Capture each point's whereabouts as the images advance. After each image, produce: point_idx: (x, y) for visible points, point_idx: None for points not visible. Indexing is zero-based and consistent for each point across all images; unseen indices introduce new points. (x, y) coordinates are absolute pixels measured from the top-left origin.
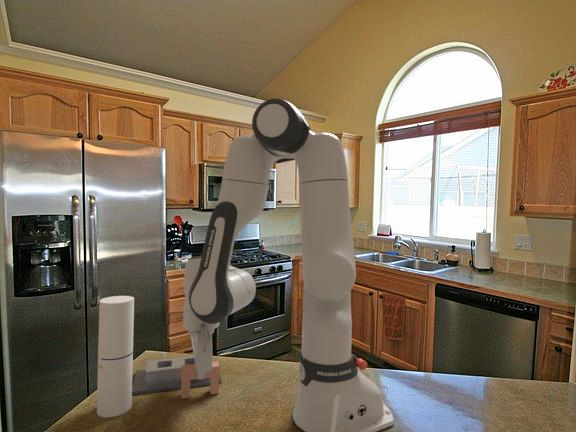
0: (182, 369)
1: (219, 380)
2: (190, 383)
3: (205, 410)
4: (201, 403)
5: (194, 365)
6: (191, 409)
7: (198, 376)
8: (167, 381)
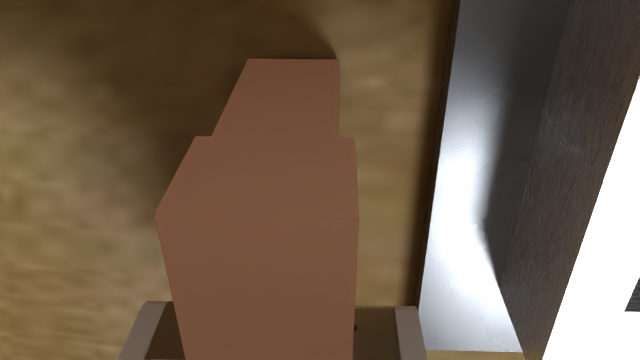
0: (198, 223)
1: None
2: (457, 155)
3: (63, 213)
4: (159, 197)
5: (300, 356)
6: (79, 129)
7: (136, 327)
8: None
